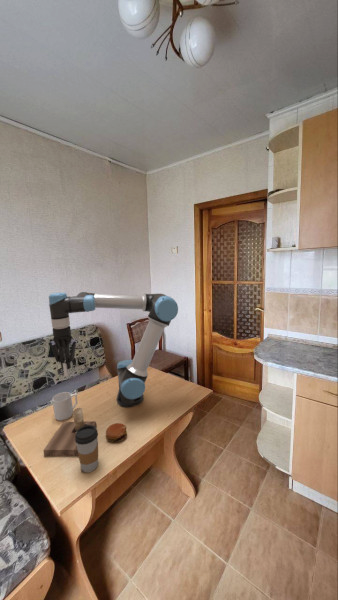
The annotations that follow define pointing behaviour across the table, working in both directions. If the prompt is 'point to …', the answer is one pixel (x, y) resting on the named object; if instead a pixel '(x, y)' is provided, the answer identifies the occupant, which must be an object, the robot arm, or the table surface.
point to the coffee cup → (87, 447)
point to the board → (64, 440)
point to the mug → (63, 405)
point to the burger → (116, 432)
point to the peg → (78, 418)
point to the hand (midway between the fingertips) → (67, 375)
